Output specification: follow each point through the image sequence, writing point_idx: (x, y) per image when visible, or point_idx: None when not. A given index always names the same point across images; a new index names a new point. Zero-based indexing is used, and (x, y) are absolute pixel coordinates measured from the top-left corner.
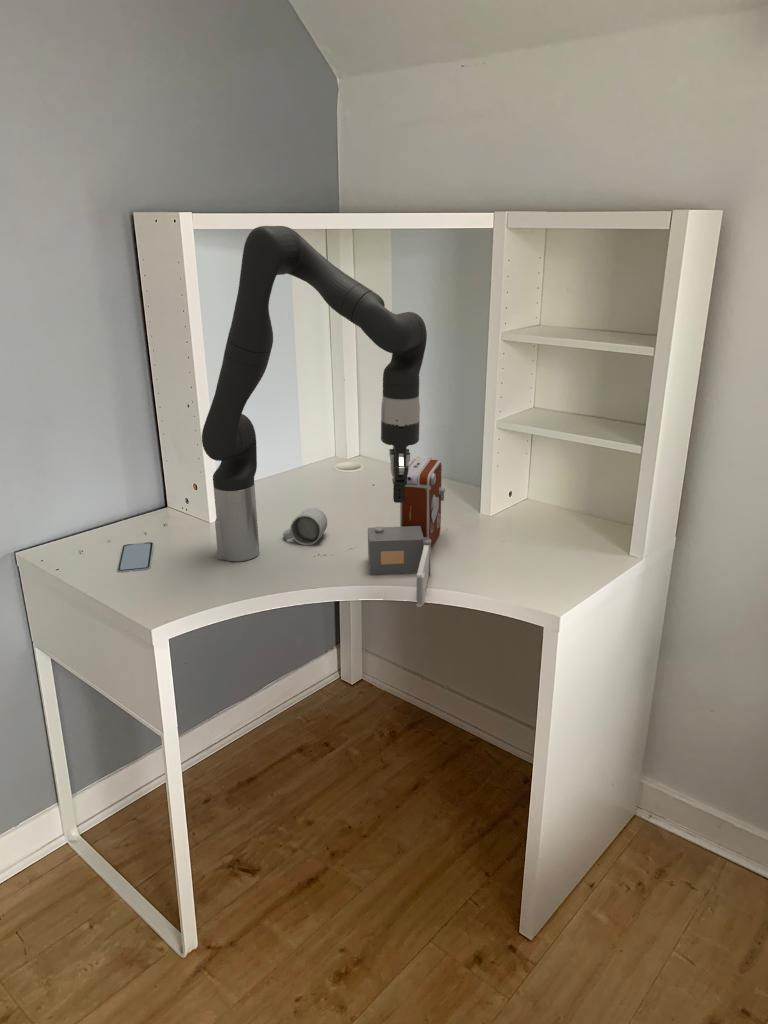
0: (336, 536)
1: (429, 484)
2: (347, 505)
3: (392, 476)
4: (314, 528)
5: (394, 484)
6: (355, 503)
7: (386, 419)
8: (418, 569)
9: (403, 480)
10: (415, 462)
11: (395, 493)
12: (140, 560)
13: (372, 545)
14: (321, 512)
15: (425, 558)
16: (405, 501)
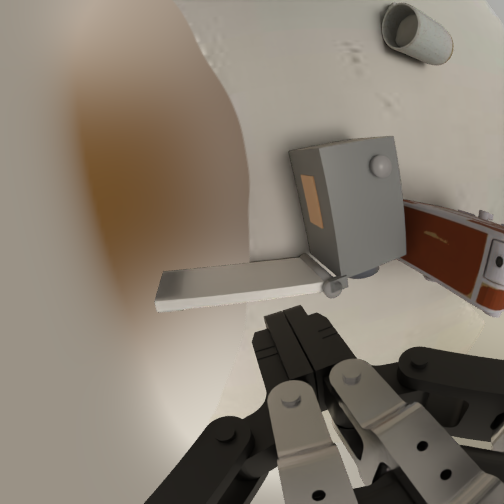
0: (421, 81)
1: (476, 306)
2: (492, 106)
3: (406, 351)
4: (409, 39)
5: (202, 433)
6: (496, 118)
7: None
8: (184, 299)
9: (237, 478)
10: None
11: (276, 351)
12: None
13: (316, 156)
14: (446, 51)
15: (248, 301)
16: (457, 232)
